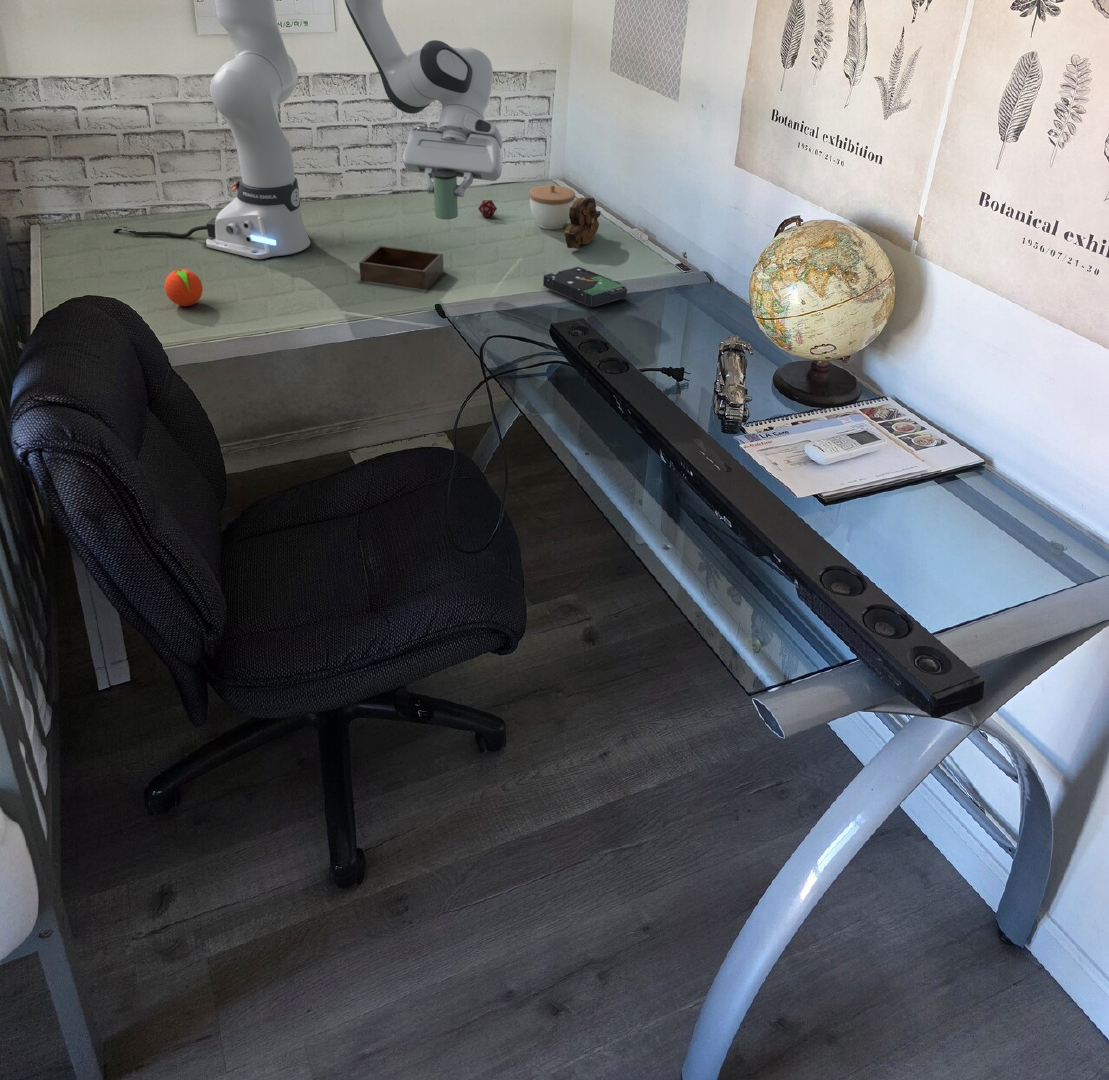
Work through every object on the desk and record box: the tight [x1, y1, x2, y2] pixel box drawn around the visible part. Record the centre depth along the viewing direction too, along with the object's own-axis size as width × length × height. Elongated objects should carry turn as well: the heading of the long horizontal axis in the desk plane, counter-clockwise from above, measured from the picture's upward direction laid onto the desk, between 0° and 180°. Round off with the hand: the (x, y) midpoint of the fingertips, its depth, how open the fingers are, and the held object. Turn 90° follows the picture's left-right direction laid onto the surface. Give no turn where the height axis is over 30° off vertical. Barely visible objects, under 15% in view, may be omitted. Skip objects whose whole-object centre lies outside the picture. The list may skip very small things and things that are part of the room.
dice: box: [477, 199, 498, 218], centre depth 239 cm, size 4×4×4 cm
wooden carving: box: [563, 196, 602, 249], centre depth 225 cm, size 16×5×10 cm, turn 161°
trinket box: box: [529, 184, 576, 230], centre depth 234 cm, size 11×11×9 cm
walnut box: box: [358, 244, 444, 291], centre depth 207 cm, size 14×10×4 cm
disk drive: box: [542, 266, 628, 308], centre depth 204 cm, size 10×3×15 cm
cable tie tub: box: [432, 170, 459, 220], centre depth 199 cm, size 5×5×8 cm
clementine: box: [164, 268, 203, 307], centre depth 192 cm, size 8×7×7 cm
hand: (444, 194), depth 199 cm, fingers closed on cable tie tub, 4 cm apart
